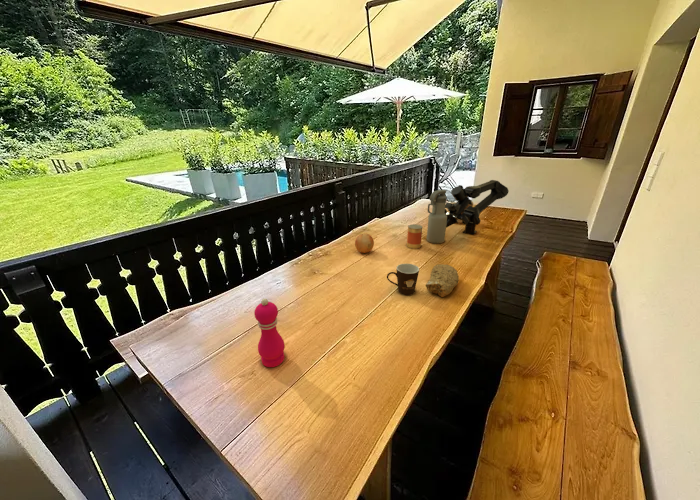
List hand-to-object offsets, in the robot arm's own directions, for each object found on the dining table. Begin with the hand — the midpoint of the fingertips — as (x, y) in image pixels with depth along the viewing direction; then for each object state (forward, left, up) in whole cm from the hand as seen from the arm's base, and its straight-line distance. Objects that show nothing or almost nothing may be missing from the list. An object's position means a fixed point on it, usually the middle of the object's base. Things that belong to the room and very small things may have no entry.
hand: (443, 227), depth 167 cm
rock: (+51, +19, -7) cm, 54 cm away
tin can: (+19, -9, -7) cm, 22 cm away
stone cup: (-38, -2, -7) cm, 39 cm away
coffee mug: (+64, +8, -7) cm, 64 cm away
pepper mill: (+119, -4, -7) cm, 119 cm away
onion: (+41, -26, -7) cm, 48 cm away
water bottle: (+5, -2, -7) cm, 9 cm away
